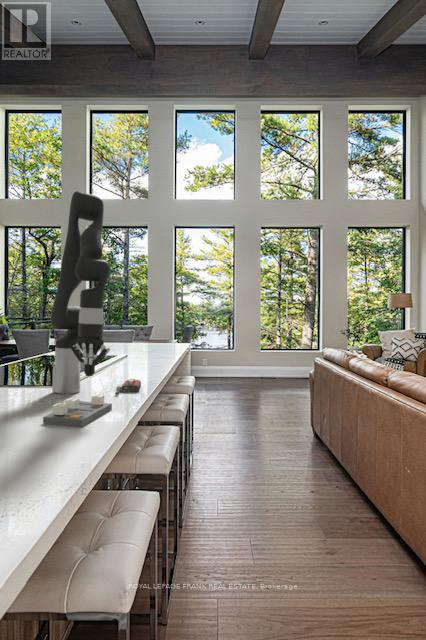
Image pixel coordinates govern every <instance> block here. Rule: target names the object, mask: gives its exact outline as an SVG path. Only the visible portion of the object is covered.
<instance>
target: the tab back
mask: <svg viewBox="0 0 426 640" xmlns="http://www.w3.org/2000/svg"><path fill="white" fill-rule="evenodd" d="M90 398H91V399H90V400H91V401H90V402H91V404H95V405H101V404H103V403H105V394H101V393H98V394H94V395H92V396H91V397H90Z"/></svg>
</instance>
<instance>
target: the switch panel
mask: <svg viewBox="0 0 426 640" xmlns="http://www.w3.org/2000/svg"><path fill="white" fill-rule="evenodd" d="M112 407H113V403H110V402H104V403H103V404H101V405H95V404H91V401H83V400H82V401H80V400H79V407H78V408H76V409H68V412H67V413H65V414H63V415H55V414H52V413H53V412H51V413H49V414H46V415H44V416H42V424H43V425H52V426H65V427H78V428H83V427H84V426H86V425H88V424H90V423H92V422H93V421H95V420H97V419H99V418H100V417H102V416H103V415H105V414H107V413H109V412H110V411H112V410H113V409H112ZM96 418H97V419H96Z"/></svg>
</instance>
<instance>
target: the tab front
mask: <svg viewBox="0 0 426 640" xmlns="http://www.w3.org/2000/svg"><path fill="white" fill-rule="evenodd" d="M67 412H68V404H65V402H60V403H59V402H58V403H56V404H54V405H52V412H51V413H52V414H55V415H63V414H65V413H67Z"/></svg>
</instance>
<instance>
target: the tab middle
mask: <svg viewBox="0 0 426 640" xmlns="http://www.w3.org/2000/svg"><path fill="white" fill-rule="evenodd" d="M79 401H80V398H76V396H75V397H70V398H67V399H66V400H65V402H64V404H68V409H76V408H78V407H79Z"/></svg>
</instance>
